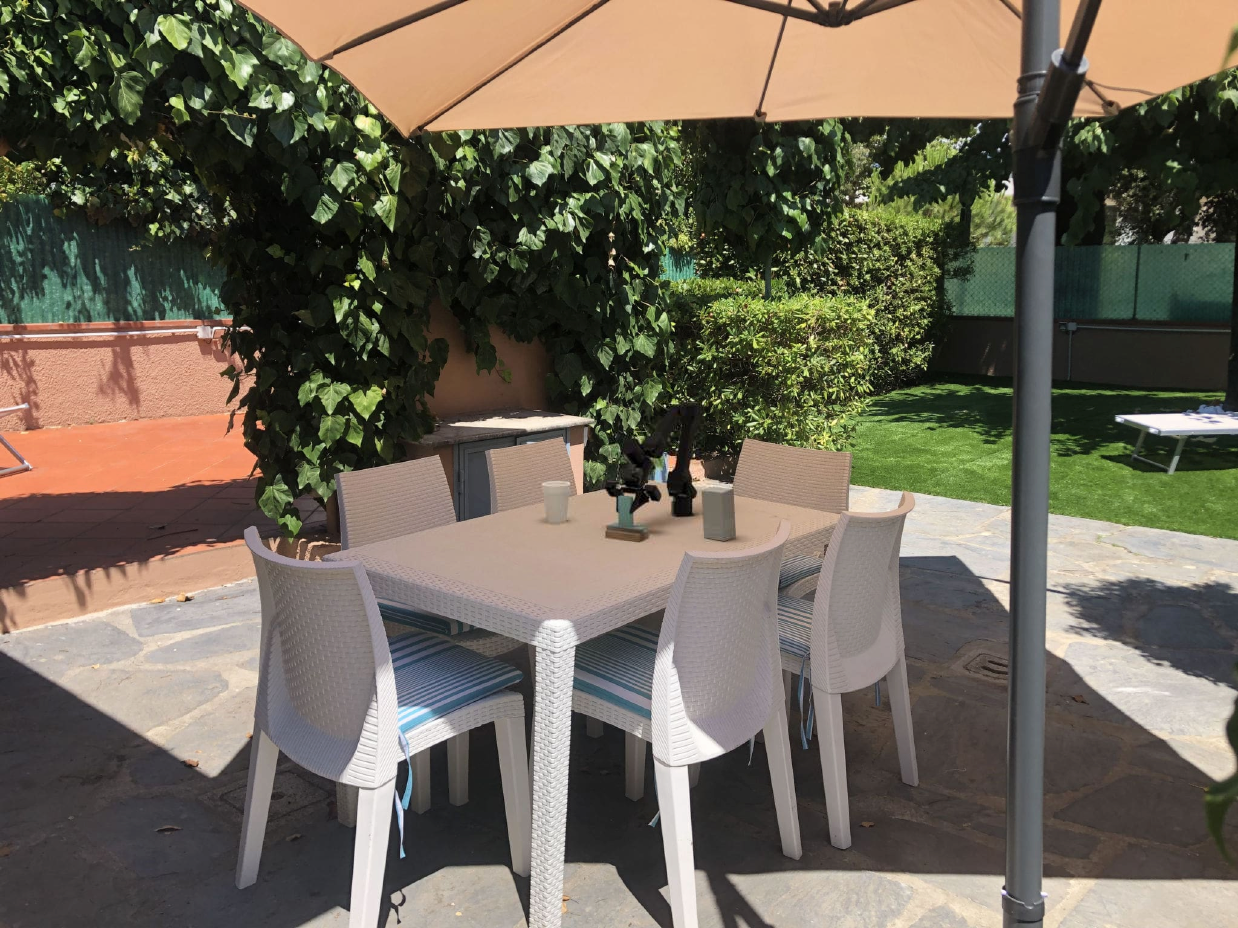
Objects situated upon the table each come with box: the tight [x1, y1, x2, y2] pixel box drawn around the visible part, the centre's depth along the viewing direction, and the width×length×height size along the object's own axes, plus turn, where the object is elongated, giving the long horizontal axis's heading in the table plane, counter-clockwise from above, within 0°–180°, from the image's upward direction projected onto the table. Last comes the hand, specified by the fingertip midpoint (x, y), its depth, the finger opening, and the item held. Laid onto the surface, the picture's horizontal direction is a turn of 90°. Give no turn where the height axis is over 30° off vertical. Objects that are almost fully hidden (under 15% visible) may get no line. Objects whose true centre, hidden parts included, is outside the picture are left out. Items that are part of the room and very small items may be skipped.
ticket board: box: [604, 524, 650, 543], centre depth 309 cm, size 6×13×4 cm, turn 60°
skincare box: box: [701, 486, 737, 542], centre depth 306 cm, size 8×7×16 cm
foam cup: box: [541, 480, 571, 525], centre depth 332 cm, size 10×9×13 cm
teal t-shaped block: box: [609, 495, 648, 530], centre depth 315 cm, size 4×12×12 cm, turn 60°
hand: (623, 512), depth 313 cm, fingers closed on teal t-shaped block, 4 cm apart
